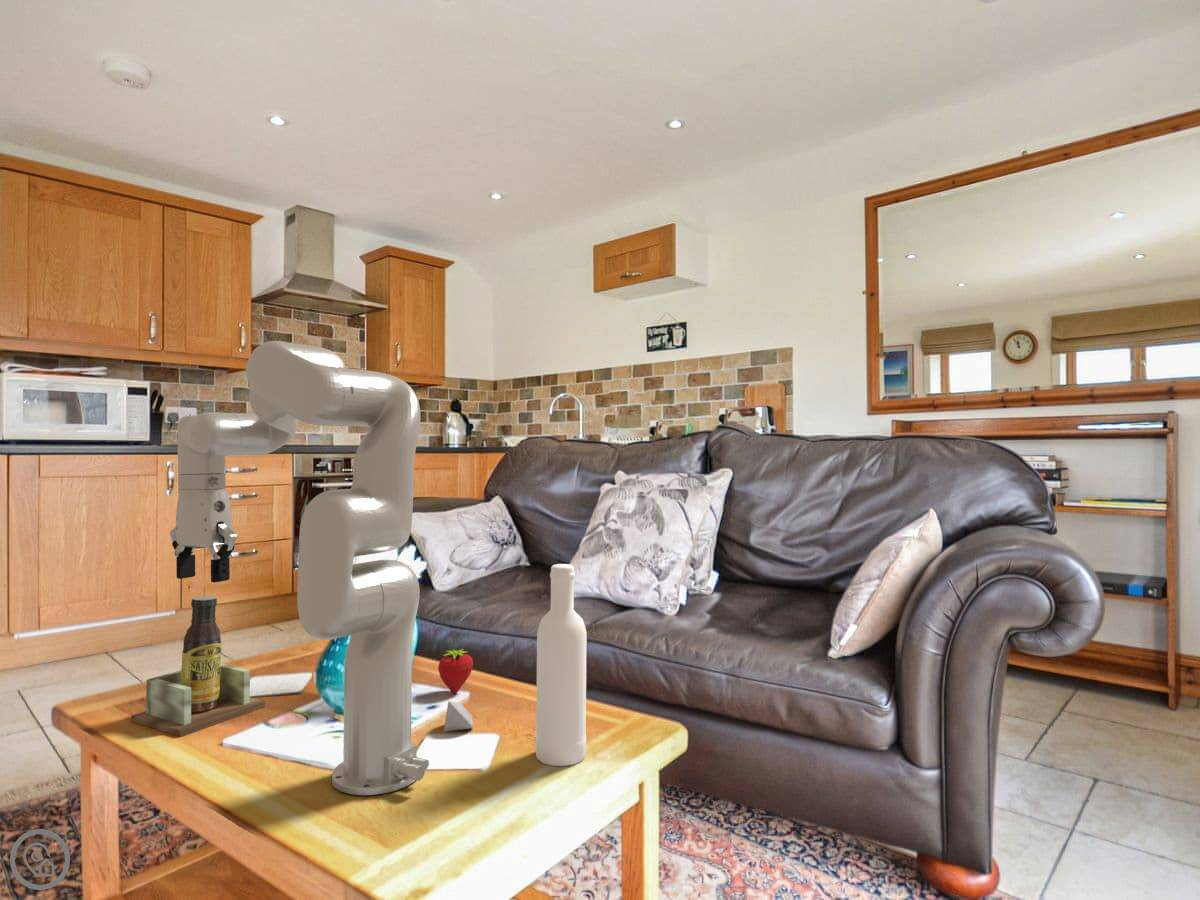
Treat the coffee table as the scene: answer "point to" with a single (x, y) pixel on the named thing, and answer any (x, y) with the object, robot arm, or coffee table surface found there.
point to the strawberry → (455, 669)
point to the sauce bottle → (202, 655)
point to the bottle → (561, 676)
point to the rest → (173, 702)
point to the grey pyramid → (457, 717)
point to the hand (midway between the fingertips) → (202, 579)
